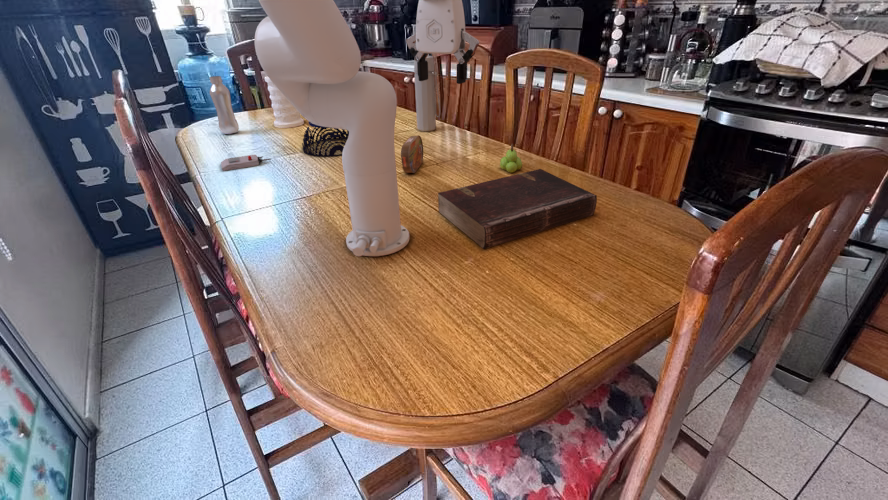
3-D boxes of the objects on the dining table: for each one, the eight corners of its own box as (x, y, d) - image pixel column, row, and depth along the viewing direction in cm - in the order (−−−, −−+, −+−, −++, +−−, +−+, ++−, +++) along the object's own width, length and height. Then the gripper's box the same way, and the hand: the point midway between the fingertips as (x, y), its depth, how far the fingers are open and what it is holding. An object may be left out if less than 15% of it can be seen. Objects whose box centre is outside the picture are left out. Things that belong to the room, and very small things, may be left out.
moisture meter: (215, 165, 126) (212, 156, 125) (269, 157, 132) (267, 148, 130) (215, 172, 121) (212, 162, 119) (272, 163, 127) (270, 153, 125)
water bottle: (413, 131, 154) (409, 58, 142) (421, 126, 161) (417, 55, 148) (437, 133, 152) (435, 58, 139) (443, 127, 159) (442, 55, 146)
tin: (411, 177, 114) (409, 147, 110) (400, 177, 115) (398, 146, 110) (424, 159, 127) (423, 132, 122) (414, 159, 127) (413, 131, 123)
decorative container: (297, 119, 175) (288, 73, 166) (308, 124, 167) (299, 76, 158) (269, 124, 169) (258, 76, 160) (280, 129, 161) (269, 79, 152)
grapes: (522, 174, 114) (524, 148, 111) (499, 174, 115) (501, 148, 111) (520, 163, 122) (522, 138, 119) (499, 162, 123) (500, 138, 119)
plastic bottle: (221, 132, 159) (204, 76, 149) (240, 130, 162) (225, 74, 151) (221, 136, 154) (204, 78, 144) (240, 134, 156) (225, 77, 146)
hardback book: (484, 249, 80) (485, 226, 78) (438, 213, 94) (438, 192, 92) (594, 215, 92) (598, 194, 89) (538, 187, 106) (540, 168, 104)
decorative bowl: (370, 151, 135) (365, 105, 127) (306, 160, 129) (297, 112, 121) (357, 136, 151) (352, 94, 143) (301, 143, 145) (292, 100, 137)
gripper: (394, -8, 85) (400, 81, 94) (470, -11, 78) (469, 86, 86) (414, -7, 91) (418, 77, 99) (487, -10, 83) (484, 81, 92)
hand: (441, 81), depth 93 cm, fingers open, 9 cm apart
